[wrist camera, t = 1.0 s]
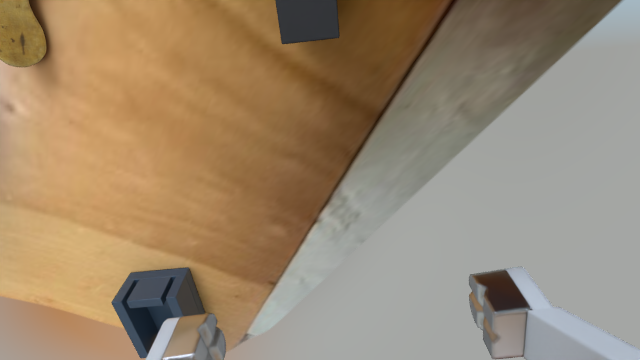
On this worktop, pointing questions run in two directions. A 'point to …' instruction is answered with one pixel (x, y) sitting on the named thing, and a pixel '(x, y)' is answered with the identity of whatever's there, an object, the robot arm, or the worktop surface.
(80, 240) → the worktop surface
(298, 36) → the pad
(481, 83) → the worktop surface
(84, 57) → the worktop surface
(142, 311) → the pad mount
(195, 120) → the worktop surface
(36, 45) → the yellow-green lumpy piece
